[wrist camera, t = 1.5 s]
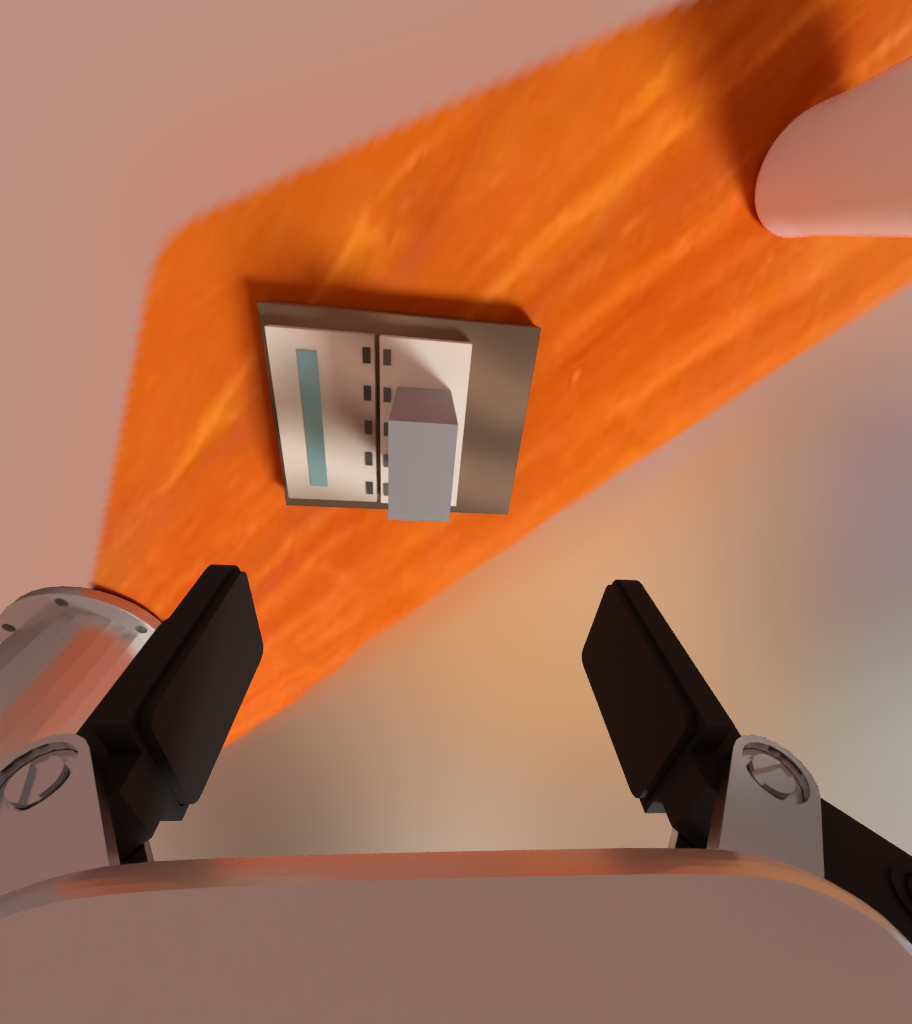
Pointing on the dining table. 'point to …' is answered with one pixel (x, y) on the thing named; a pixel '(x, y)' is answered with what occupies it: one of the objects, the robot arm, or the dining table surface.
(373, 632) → the dining table surface
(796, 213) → the drinking glass
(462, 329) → the board
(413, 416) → the stub
